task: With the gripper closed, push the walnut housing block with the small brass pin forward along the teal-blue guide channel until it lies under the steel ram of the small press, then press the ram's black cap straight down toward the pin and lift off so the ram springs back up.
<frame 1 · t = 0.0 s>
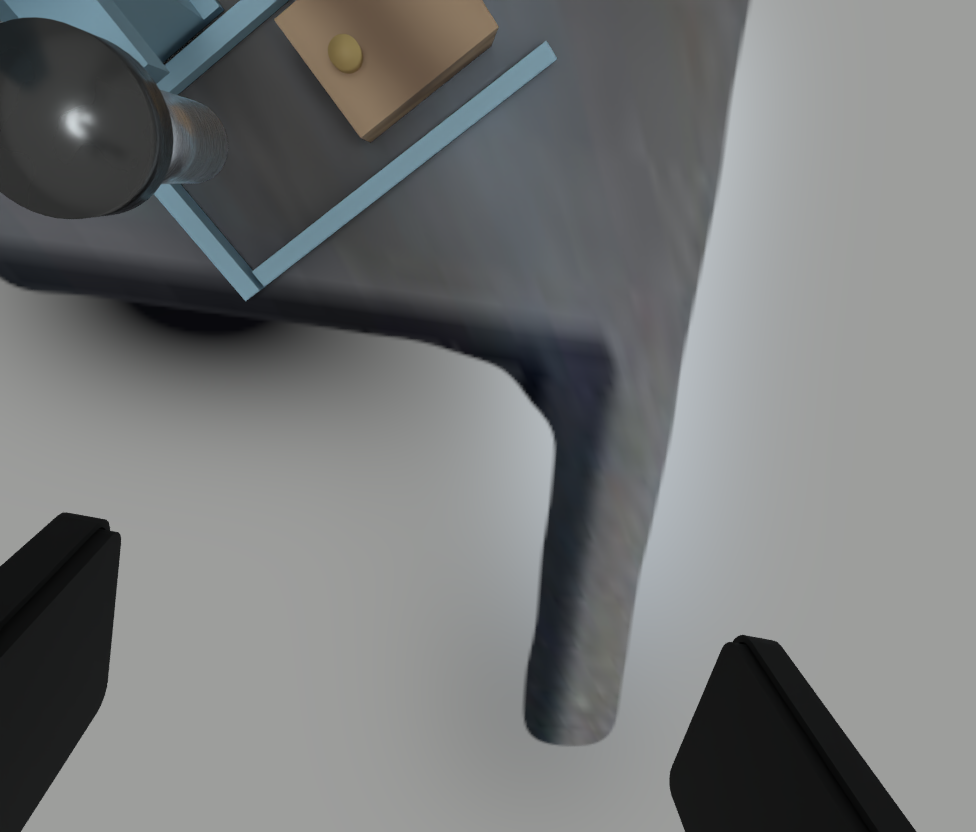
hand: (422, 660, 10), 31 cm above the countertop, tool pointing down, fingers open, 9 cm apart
housing: (394, 43, 36), resting in press
press: (260, 151, 37), on the countertop
ram: (134, 134, 22), point 16 cm above the countertop, slide at 0.8 cm
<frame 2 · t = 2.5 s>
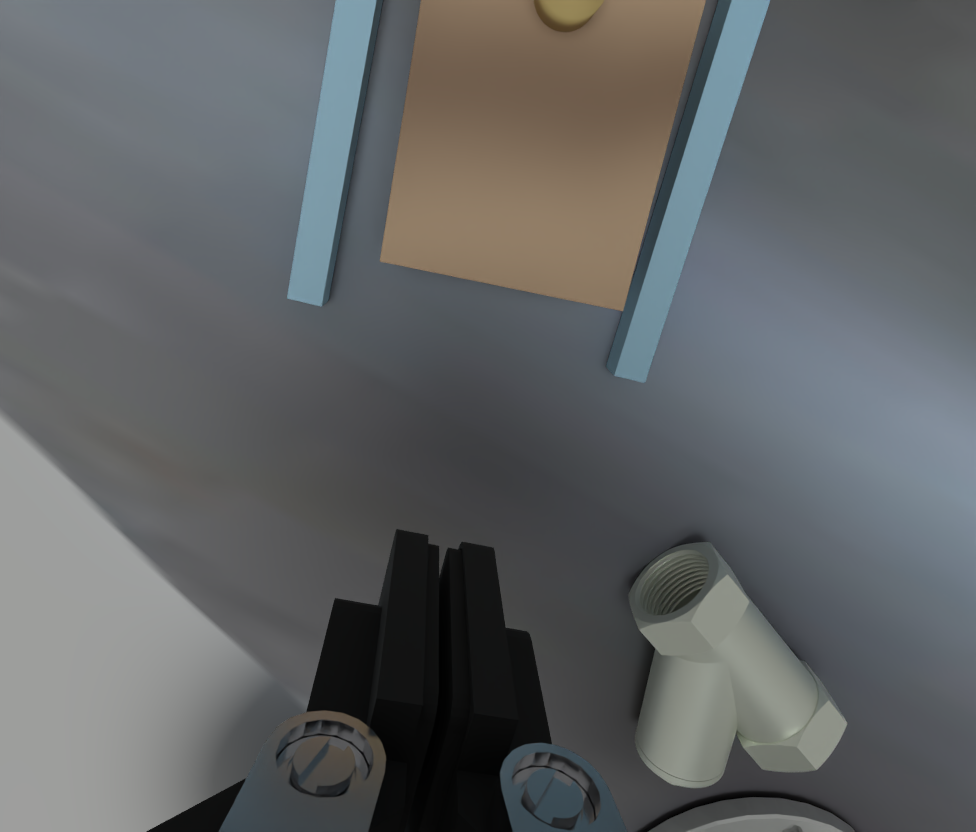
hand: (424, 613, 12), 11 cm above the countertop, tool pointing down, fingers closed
housing: (519, 130, 20), resting in press
pipe fitting: (678, 646, 26), on the countertop
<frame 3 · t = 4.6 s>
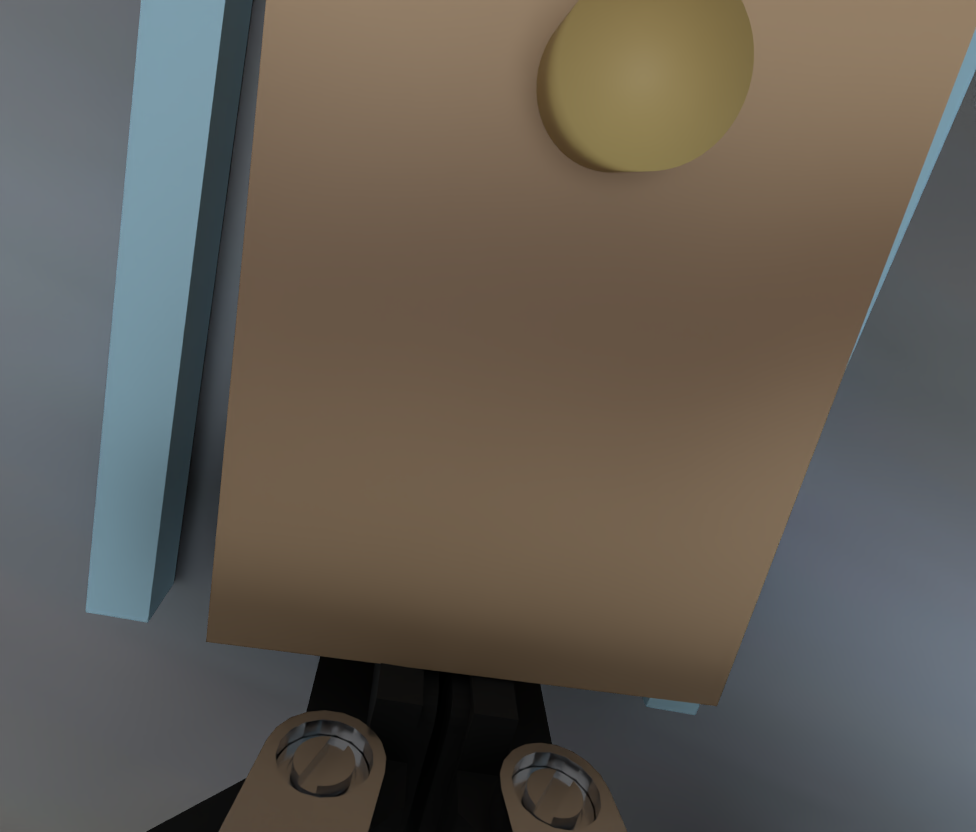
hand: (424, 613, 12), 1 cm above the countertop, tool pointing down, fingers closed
housing: (507, 274, 11), resting in press, touching gripper
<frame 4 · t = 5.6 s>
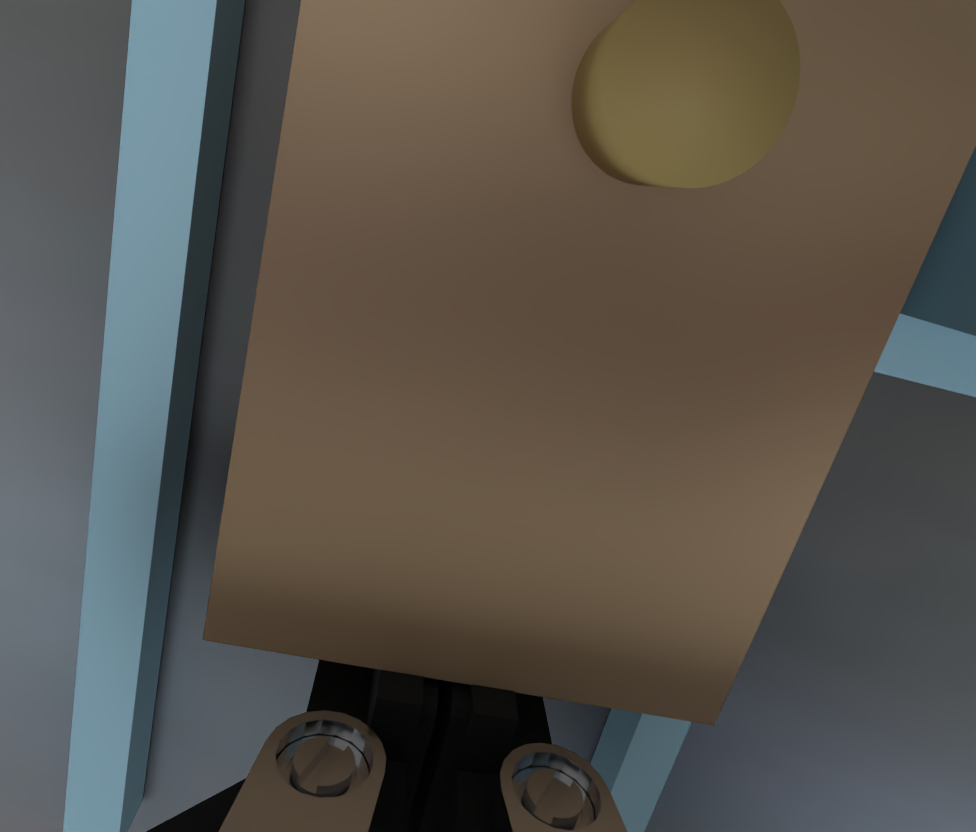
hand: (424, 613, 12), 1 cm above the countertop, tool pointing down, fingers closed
housing: (518, 279, 11), resting in press, touching gripper
press: (553, 74, 10), on the countertop
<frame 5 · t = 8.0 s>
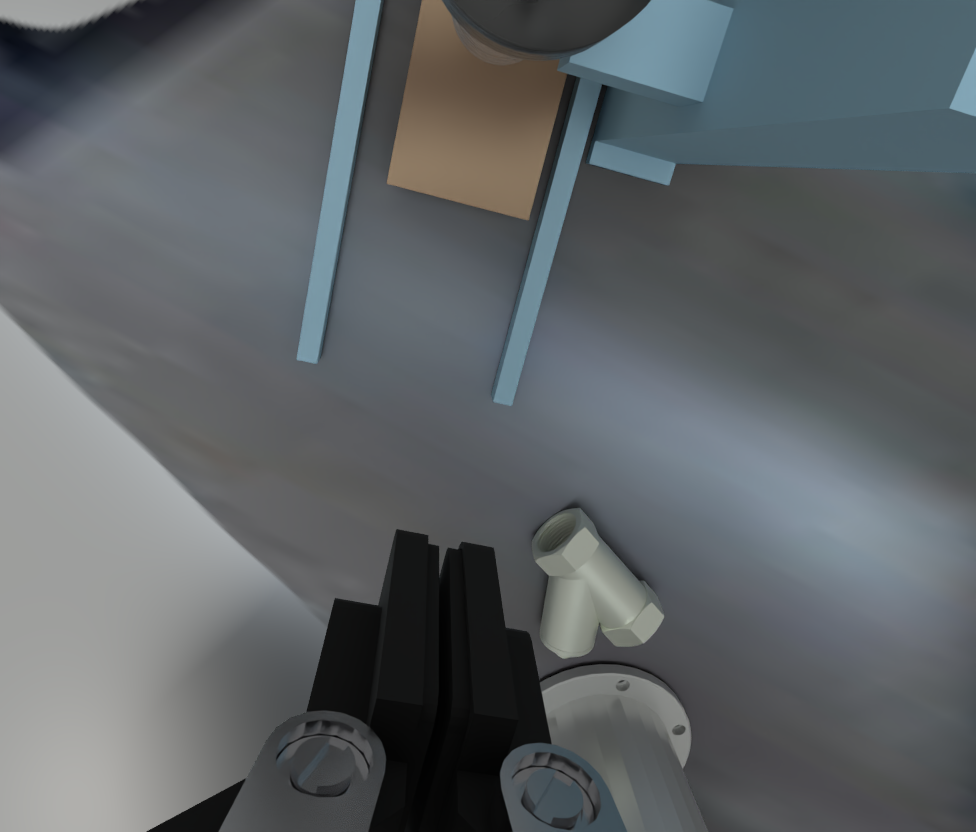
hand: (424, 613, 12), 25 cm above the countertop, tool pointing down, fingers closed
housing: (475, 107, 32), resting in press
press: (478, 58, 31), on the countertop
pipe fitting: (568, 573, 41), on the countertop
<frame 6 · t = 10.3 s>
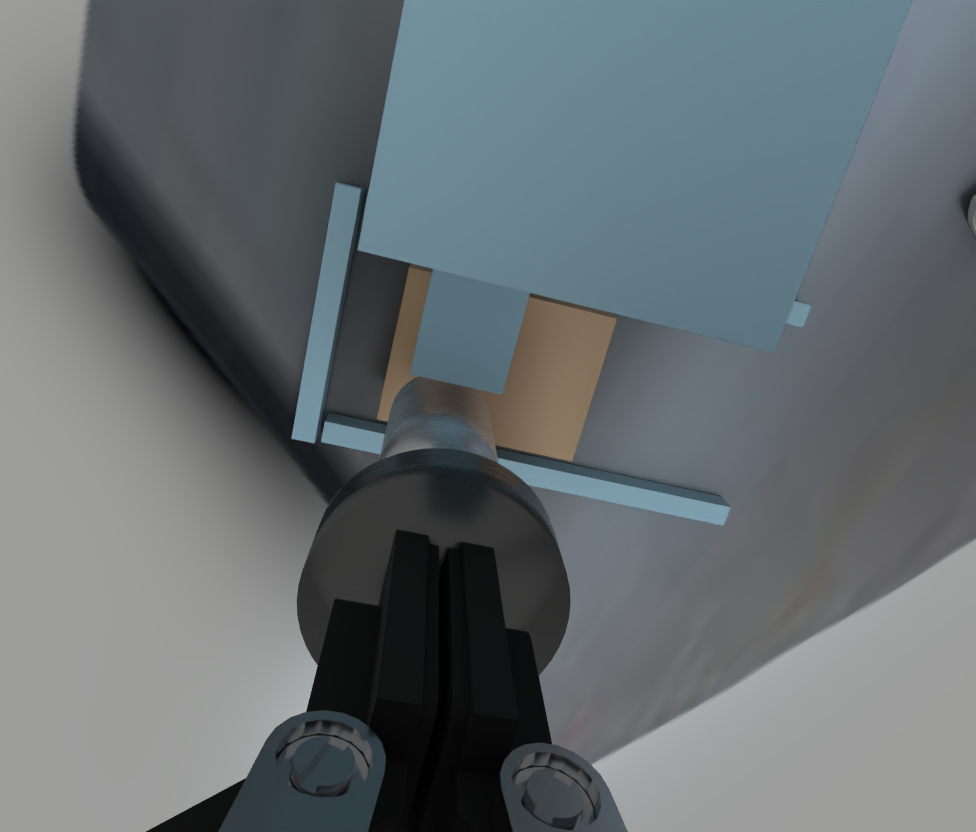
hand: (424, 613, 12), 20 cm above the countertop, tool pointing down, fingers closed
housing: (487, 340, 31), resting in press
press: (441, 340, 31), on the countertop
ram: (438, 488, 16), point 15 cm above the countertop, slide at 1.3 cm, touching gripper
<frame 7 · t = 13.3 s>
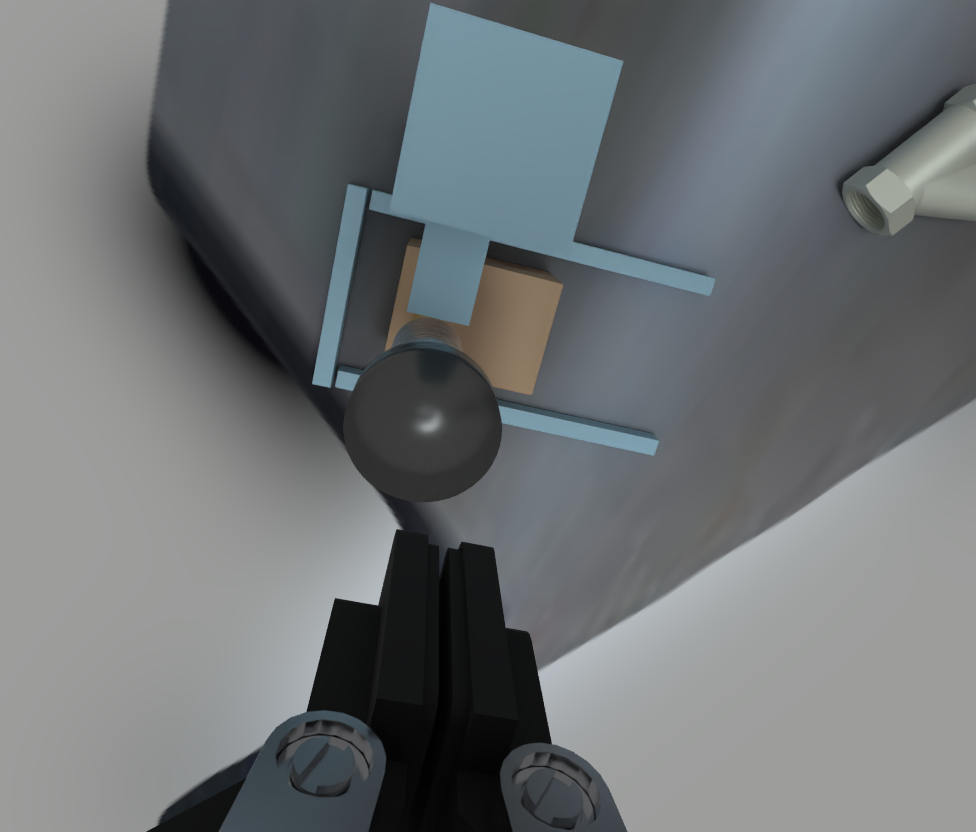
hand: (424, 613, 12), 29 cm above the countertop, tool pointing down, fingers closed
housing: (468, 306, 40), resting in press
press: (429, 307, 39), on the countertop
ram: (425, 384, 25), point 16 cm above the countertop, slide at 1.2 cm
pipe fitting: (916, 185, 39), on the countertop
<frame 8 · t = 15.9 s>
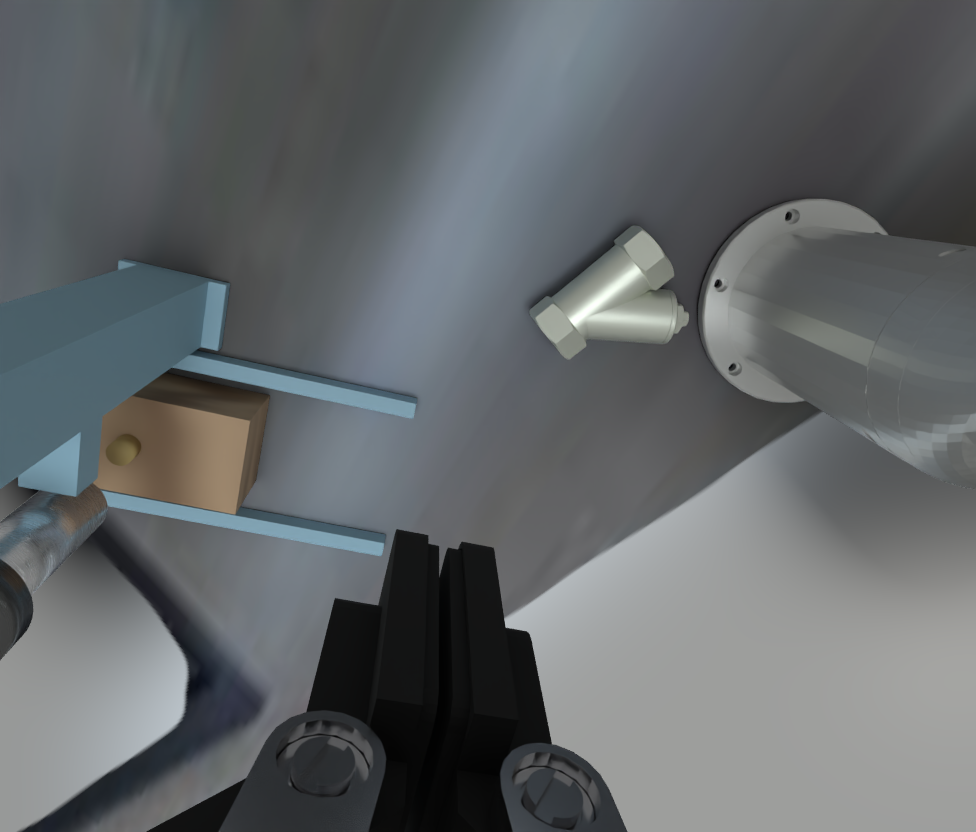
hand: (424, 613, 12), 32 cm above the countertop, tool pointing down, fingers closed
housing: (199, 424, 44), resting in press
press: (160, 427, 43), on the countertop
ram: (17, 555, 29), point 16 cm above the countertop, slide at 1.2 cm
pipe fitting: (608, 308, 43), on the countertop
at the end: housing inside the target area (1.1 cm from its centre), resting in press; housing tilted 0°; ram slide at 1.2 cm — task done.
